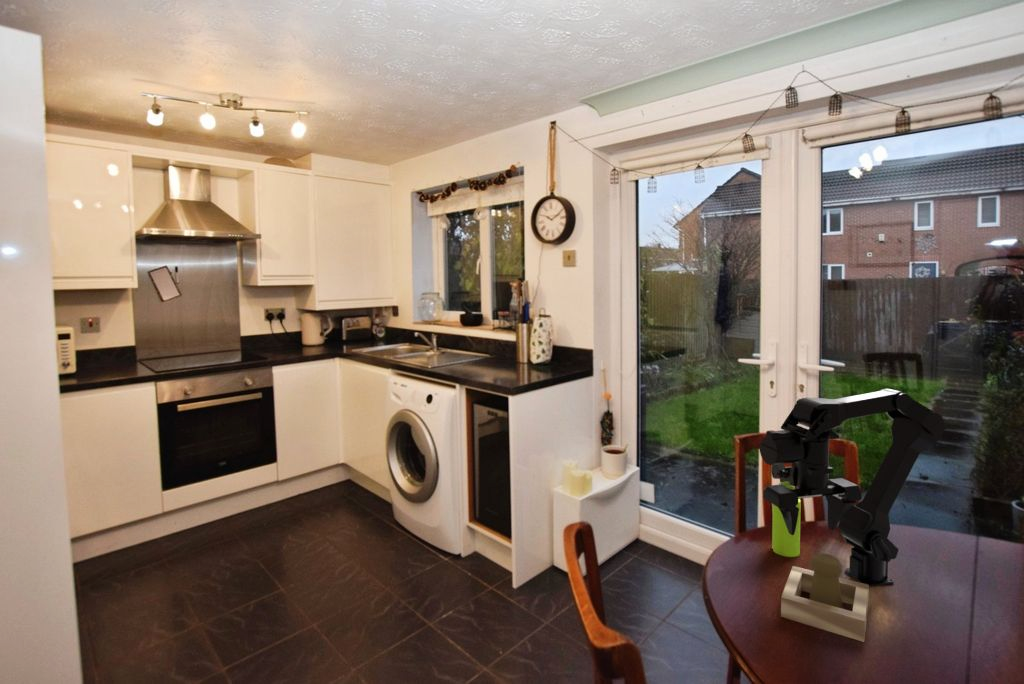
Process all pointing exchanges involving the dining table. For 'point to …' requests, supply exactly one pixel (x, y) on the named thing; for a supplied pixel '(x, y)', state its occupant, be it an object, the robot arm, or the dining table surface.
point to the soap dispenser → (785, 531)
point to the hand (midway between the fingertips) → (811, 531)
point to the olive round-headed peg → (826, 580)
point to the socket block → (824, 614)
